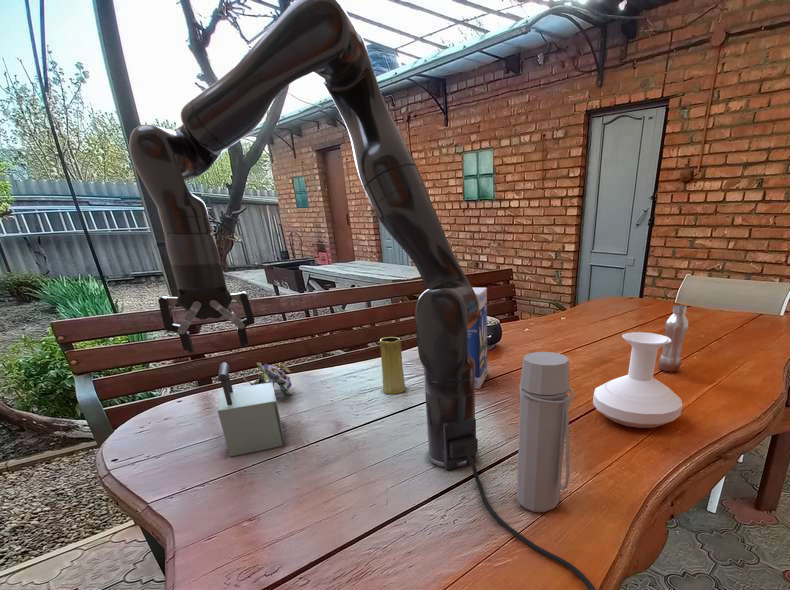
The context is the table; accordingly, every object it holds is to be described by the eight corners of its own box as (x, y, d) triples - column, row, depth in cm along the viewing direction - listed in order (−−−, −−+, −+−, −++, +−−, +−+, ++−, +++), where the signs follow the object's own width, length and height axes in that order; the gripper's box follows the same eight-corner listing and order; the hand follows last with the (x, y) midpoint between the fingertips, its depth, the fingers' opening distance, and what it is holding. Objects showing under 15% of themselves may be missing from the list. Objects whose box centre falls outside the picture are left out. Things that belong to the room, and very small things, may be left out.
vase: (408, 386, 119) (404, 336, 113) (402, 394, 114) (397, 342, 108) (387, 385, 120) (382, 336, 114) (380, 393, 114) (374, 342, 108)
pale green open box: (269, 371, 81) (208, 379, 77) (285, 445, 88) (230, 456, 84) (266, 354, 91) (212, 361, 87) (281, 422, 98) (231, 432, 93)
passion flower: (291, 413, 115) (299, 385, 107) (246, 416, 108) (250, 387, 101) (284, 380, 120) (290, 352, 112) (240, 381, 113) (244, 351, 106)
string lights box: (480, 389, 117) (479, 294, 107) (453, 388, 118) (450, 293, 108) (487, 373, 129) (487, 287, 119) (463, 372, 130) (461, 286, 120)
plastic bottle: (652, 368, 134) (663, 305, 126) (668, 366, 137) (679, 303, 129) (668, 375, 129) (680, 309, 121) (684, 372, 132) (697, 307, 124)
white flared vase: (605, 394, 114) (613, 323, 107) (684, 410, 105) (700, 334, 97) (579, 422, 98) (587, 341, 91) (670, 444, 89) (688, 356, 81)
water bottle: (505, 501, 71) (508, 358, 61) (535, 482, 76) (543, 347, 66) (549, 528, 65) (560, 373, 55) (578, 505, 70) (594, 360, 60)
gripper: (141, 264, 69) (170, 359, 75) (241, 261, 75) (260, 349, 81) (150, 260, 75) (176, 349, 81) (241, 258, 81) (259, 340, 87)
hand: (218, 349), depth 81 cm, fingers open, 8 cm apart
